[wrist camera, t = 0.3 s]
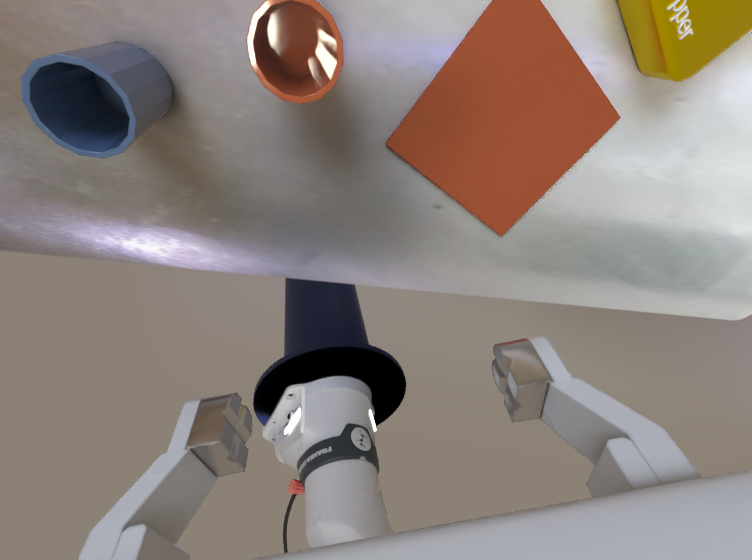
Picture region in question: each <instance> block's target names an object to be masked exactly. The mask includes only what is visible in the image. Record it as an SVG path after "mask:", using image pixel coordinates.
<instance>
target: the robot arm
mask: <svg viewBox="0 0 752 560" xmlns="http://www.w3.org/2000/svg"><path fill="white" fill-rule="evenodd" d="M493 353H494V356H495V359H494V360H493V362H492V371H493V376H494V380H495V383H496V385H497V388H498V390H499V391H500V392H501V393H503V394H505V400H504V404H505V406H506V408H507V411H508V413H509V415H510V417H511V420H512V422H520V421H526V420H532V419H539V418H541V420H542V421H543V422H544V423H545V424H546V425H548V426H549V427H550V428H551V429H552V430H553V431H555V432H556V433H557V434H558V435H559V436H561V437H562V438H563V439H564V440H565V441H567V442H568V443H569V444H570V445H571V446H573V447H574V448H575V449H576V450H577V451H578V452H580V453H581V454H582V455H583V456H585V457H586V458H587V459H588V460H589V461H590V462H592V463H593V464H594V465H595V467H594V469H593V471H592V473H591V475H590V477H589V479H588V481H587V484H586V485H587V487H588V489H589V491H590V493H591V495H592V497H593V498H587V499H582V500H576V501H571V502H565V503H560V504H554V505H549V506H543V507H538V508H532V509H526V510H521V511H515V512H509V513H504V514H498V515H493V516H487V517H482V518H476V519H471V520H465V521H459V522H454V523H448V524H443V525H437V526H431V527H426V528H420V529H415V530H410V531H404V532H399V533H394V531H393V529H392V528H391V525H390V522H389V519H388V515H387V512H386V508H385V505H384V501H383V497H382V493H381V489H380V484H379V479H378V473H379V464H378V463H379V461H378V458H377V452H376V447H375V439H374V430H375V431H376V426H375V423H374V419H373V416H374V414H375V411H374V407H373V405H372V403H371V398H372V392H371V389H370V387H369V385H368V384H367V383H366V382H365V381H363V380H362V379H360V378H357V377H354V376H350V375H343V374H335V375H327V376H322V377H319V378H316V379H313V380H310V381H306V382H296V383H291V384H288V385H287V386H286V388H285V389H284V391H283V393H282V395H281V397H280V399H279V400H278V402H277V404H276V406H275V408H274V410H273V411H272V413H271V415H270V417H269V419H268V421H267V422H266V424H265V426H264V428H263V430H262V436H263V437H264V438H265V439H266V440H267V441H269V442H271V443H273V444H275V454H276V457H277V459H278V460H279V461H280V462H282V463H283V464H285V465H287V466H289V467H291V468H293V469H295V470H298V473H299V477H300V481H298V480H295V479H293V480H292V481H291V482H290V485H289V492H290V494H293V495H292V497H291V499H290V502H289V505H288V508H287V511H286V515H285V520H284V528H283V543H284V552H285V553H282V554H276V555H270V556H266V557H259V558H254V559H248V560H752V469H749V470H744V471H738V472H732V473H727V474H722V475H716V476H711V477H704V478H702V477H701V476H700V474H699V473H698V472H697V471H696V469H695V468H694V467H693V465H692V464H691V463H690V462H689V460H688V459H687V458H686V456H685V455H684V454H683V453H682V451H681V450H680V449H679V447H678V446H677V445H676V444H675V442H674V441H673V440H672V438H671V437H670V436H669V435H668V433H667V432H666V431H665V430H664V428H662V427H660V426H659V425H657V424H655V423H654V422H652V421H650V420H649V419H647V418H645V417H643V416H642V415H640V414H639V413H637V412H635V411H633V410H632V409H630V408H628V407H627V406H625V405H623V404H622V403H620V402H618V401H616V400H615V399H613V398H611V397H610V396H608V395H606V394H605V393H603V392H601V391H600V390H598V389H596V388H595V387H593V386H591V385H589V384H588V383H586V382H584V381H583V380H581V379H579V378H573V377H572V376H571V374H570V373H569V372H568V370H567V369H566V367H565V365H564V364H563V362H562V361H561V359H560V358H559V356H558V355H557V353H556V352H555V350H554V348H553V347H552V346H551V344H550V342H549V341H548V339H547V338H546V337H545V336H538V337H533V338H527V339H520V340H515V341H510V342H505V343H500V344H495V345H494V347H493ZM251 432H252V417H251V414H250V411H249V409H248V408H247V407H246V406H244V405H242V404H241V397H240V396H239V395H238V394H237V393H233V394H227V395H220V396H214V397H208V398H202V399H196V400H190V401H187V402H186V403H185V404H184V406H183V408H182V411H181V413H180V416H179V419H178V422H177V425H176V427H175V430H174V433H173V436H172V439H171V442H170V444H169V447H168V450H167V453H164V454H161V455H160V456H159V457H158V459H157V460H156V461H155V462H154V463H153V464H152V465H151V466H150V467H149V468H148V469H147V471H146V472H145V473H144V474H143V475H142V476H141V477H140V478H139V479H138V480H137V481H136V482H135V484H134V485H133V486H132V487H131V488H130V489H129V490H128V491H127V492H126V493H125V494H124V496H123V497H122V498H121V499H120V500H119V501H118V502H117V503H116V504H115V505H114V506H113V507H112V508H111V510H110V511H109V512H108V513H107V514H106V515H105V516H104V517H103V518H102V519H101V520H100V521H99V523H98V524H97V525H96V526H95V527H94V528H93V529H92V530H91V531H90V533H89V536H88V538H87V540H86V542H85V544H84V547H83V549H82V551H81V553H80V556H79V558H78V560H190V555H189V553H188V552H187V551H186V550H184V549H183V548H181V547H180V546H178V545H176V543H177V541H178V540H179V538H180V536H181V535H182V533H183V532H184V530H185V529H186V527H187V526H188V524H189V523H190V521H191V519H192V518H193V517H194V515H195V513H196V512H197V510H198V509H199V507H200V506H201V504H202V503H203V501H204V500H205V498H206V496H207V495H208V493H209V492H210V490H211V489H212V487H213V486H214V484H215V483H216V481H217V479H218V478H217V477H221V476H225V475H230V474H235V473H239V472H244V471H245V467H246V461H247V456H248V448H247V447H246V445H245V443H246V442H247V440H248V439H249V438H250V436H251ZM304 491H305V517H306V537H307V541H308V543H309V545H310V547H311V548H309V549H304V550H299V551H293V552H288V551H287V536H286V535H287V534H286V532H287V522H288V517H289V513H290V510H291V507H292V504H293V501H294V499H295V497H296V495H297V494H298V495H301V494H302V493H303V492H304Z"/></svg>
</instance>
